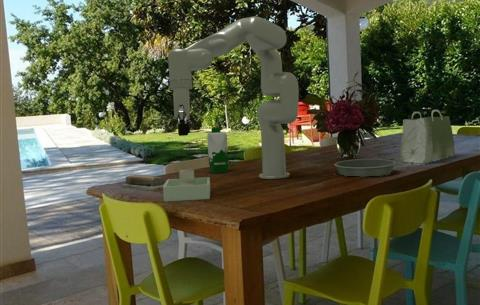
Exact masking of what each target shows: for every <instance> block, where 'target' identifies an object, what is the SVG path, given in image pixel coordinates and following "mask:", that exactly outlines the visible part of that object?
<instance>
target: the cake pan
mask: <svg viewBox="0 0 480 305" xmlns="http://www.w3.org/2000/svg"><path fill="white" fill-rule="evenodd" d="M396 164H397V161H395V160H391V159H385V158H383V159H382V158H355V159H348V160H347V159H346V160H341V161H337V162H335V163H333V165H334V166H335V167H336V169H337V172H338V175H340V174H341V175H340V176H342V175H344V176H343V177H347V176H360V177H359V178H365V177H364V176H380V175H386V174H389V173H391V172H392V173H393V169H394V166H395V165H396ZM361 176H362V177H361ZM386 176H387V175H386ZM380 177H381V176H380Z"/></svg>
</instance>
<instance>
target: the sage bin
mask: <svg viewBox="0 0 480 305" xmlns="http://www.w3.org/2000/svg"><path fill="white" fill-rule="evenodd" d="M164 184H165V185H164V186H163V188H162V192H163V202H179V201H198V200H199V201H200V200H210V199H211V198H210V197H211V178H210V176H208V177H195V185H185V186H180V178H172V179H170V178H169V179H167V180H166V181H165V182H164Z"/></svg>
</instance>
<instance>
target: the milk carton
mask: <svg viewBox="0 0 480 305" xmlns="http://www.w3.org/2000/svg"><path fill="white" fill-rule="evenodd" d="M210 130H211V132H207V135H206V136H207V138H206V139H207V155H208V156H207V157H208V165H209V166H208V167H209V170H210V173H212V174H213V175H215V174H225V173H226V174H227V173H229V146H228V144H229V143H228V135H227V134H228V133H227V132H226V131H221V127H212V128H210Z"/></svg>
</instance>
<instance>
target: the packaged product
mask: <svg viewBox="0 0 480 305" xmlns="http://www.w3.org/2000/svg"><path fill="white" fill-rule="evenodd" d="M164 180H165V178H164V177H161V176H152V175H145V174H144V175H143V174H131V175H128V176H125V183H123V184H122V188H126V187H129V188H128V189H134V188H135V190H142V189H144V190H143V191H155V189H156V190H159V189H158V188H160V189H163V186H164V185H165V183H164Z"/></svg>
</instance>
